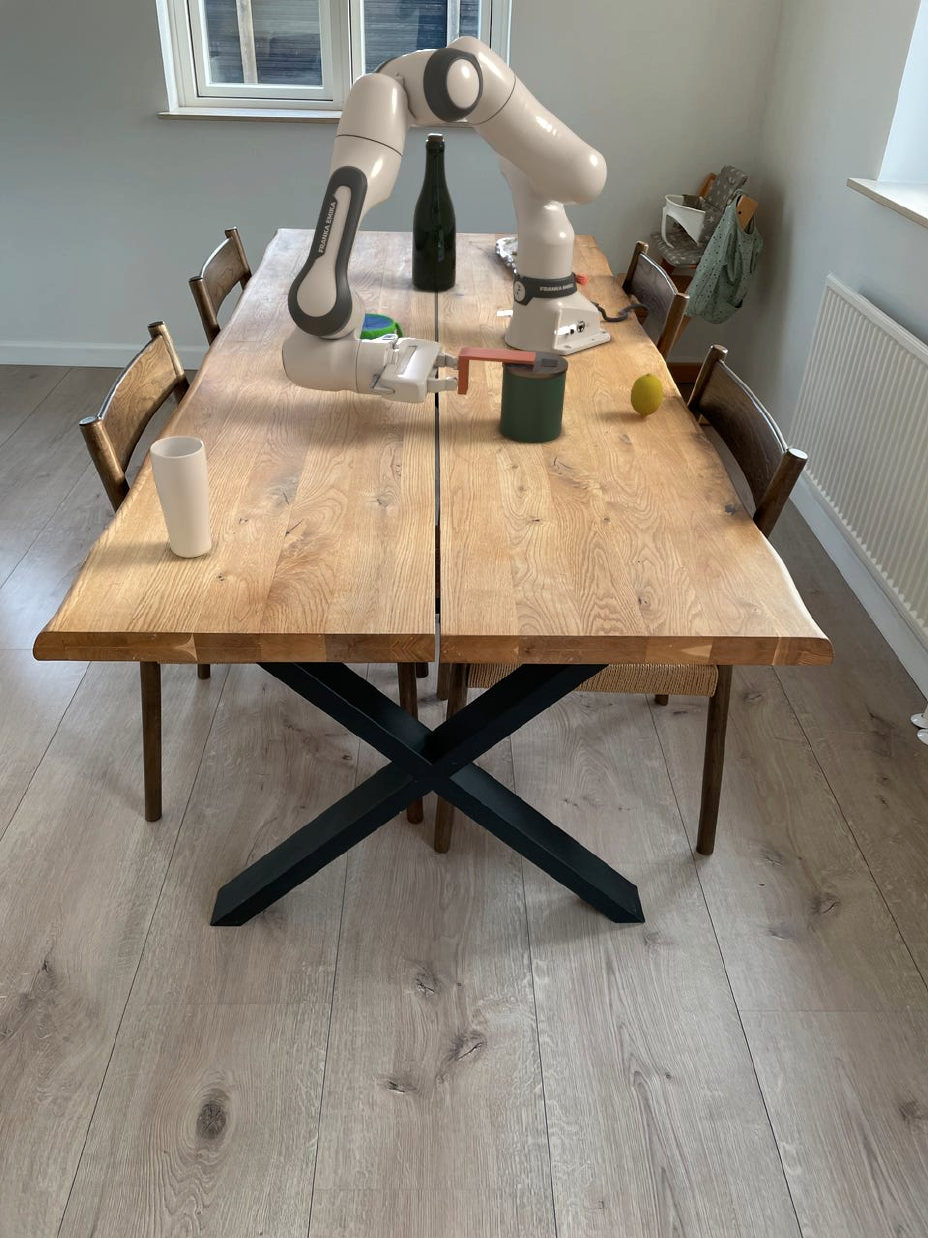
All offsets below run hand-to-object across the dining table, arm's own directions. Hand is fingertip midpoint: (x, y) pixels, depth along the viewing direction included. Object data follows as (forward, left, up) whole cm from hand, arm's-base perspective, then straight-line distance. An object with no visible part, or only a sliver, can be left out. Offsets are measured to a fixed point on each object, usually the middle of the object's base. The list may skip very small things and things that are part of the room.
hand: (461, 373), depth 165 cm
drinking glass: (+54, +18, -9) cm, 57 cm away
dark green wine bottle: (-38, -72, -9) cm, 82 cm away
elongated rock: (-68, -78, -9) cm, 104 cm away
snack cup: (+3, -28, -9) cm, 30 cm away
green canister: (-9, +8, -9) cm, 15 cm away
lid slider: (-5, +4, -3) cm, 7 cm away
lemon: (-30, +13, -9) cm, 34 cm away
